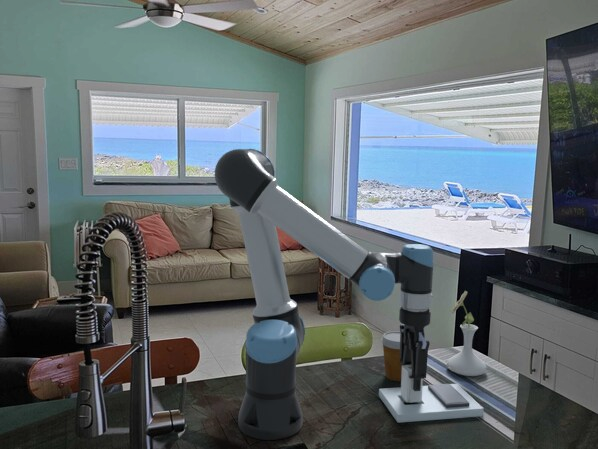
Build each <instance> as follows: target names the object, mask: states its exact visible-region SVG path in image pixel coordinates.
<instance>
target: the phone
mask: <svg viewBox="0 0 598 449" xmlns="http://www.w3.org/2000/svg"><path fill="white" fill-rule="evenodd" d="M450 384H451V383H441V384H439V383H438V384H437V383H436V384H428V385H427V386H428V389H429V390H430V391H431V392H432V393H433V394H434V395H435V396H436V397H437V398H438V399H439V401H440V402H441V403H442V404H443V405H444V406H445V407H446V408H453V407H467V406H469V402H468V401H467V400H466V399H465V398H464V397H463V396H462V395H461V394H460V393H459V392H458V391H457V390H456V389H454V388H453V387H452V386H451V385H450Z"/></svg>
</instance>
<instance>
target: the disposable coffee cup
mask: <svg viewBox="0 0 598 449" xmlns="http://www.w3.org/2000/svg"><path fill="white" fill-rule="evenodd" d="M380 341H381V344H382V349H383V362H384V371H385V373H384V374H385V378H386V379H388V380H391V381H393V382H401V376H402V362H400V331H398V330H397V331H386V332H385V333H383V335H382V337H381V339H380Z"/></svg>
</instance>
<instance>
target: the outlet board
mask: <svg viewBox="0 0 598 449" xmlns="http://www.w3.org/2000/svg"><path fill="white" fill-rule="evenodd" d="M449 384H450V385H451V386H452V387H453V388H454V389H456V390H457V391H458V392H459V393H460V394H461V395H462V396H463V397H464V398H465V399H466V400H467V401H468V402H469V406H467V407H453V408H446V407H445V406H444V405H443V404H442V403H441V402H440V401H439V399H438V398H437V397H436V396H435V395H434V394H433V393H432V392H431V391H430V390H429V389H428V385H423V386H422V401H420V402H416V403H415V404H405V403H407V402H406V401H405V400H404V399H403V398H402V396H401V386H400V387H389V388H388V387H387V388H379V389H378V397H379V399H380V400H381V402H383V403H384V404H383V405H384V406H385V408H387V409H388V411H389V412H390V414H391V415H392V417H393V419H395V421H396V422H397V423H409V422H422V421H424V422H425V421H435V420H447V419H448V420H449V419H450V420H452V419H463V418H476V417H483V416H484V409H485V408H484V407H483V406H482V404H480V403H478V402H477V401H476V400H475V399H474V398H473V397H472V396H471V395H470V394H469V393H468V392H467V391H466V390H465V389H464V388H462V387H461V386H460V385H459V384H458V383H449Z"/></svg>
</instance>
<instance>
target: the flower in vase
mask: <svg viewBox="0 0 598 449" xmlns="http://www.w3.org/2000/svg"><path fill="white" fill-rule="evenodd" d="M467 295H468V291H466V290H465V291H464V292H463V293H462V294H461V296H460V299H459V300H457V301H456V302H455V304H456V305H455V306H453V307H452V309H451V311H450V313H451V314H454V313H455V312H456V311H457V309H458V308H459V307H463V309H464V311H465V314H466V315H465V316H464V319H465V320H464V321H463V322H462V324H460V326H459V327H460V328H461V330H462V334H463V348H462V350H461V351H459V352H458V353H456V354H455V355H453V356H451V357H450V358H448V359H447V362H446V366H447V369H449V370H450V371H451V372H453V373H455V374H458V375H461V376H465V377H466V376H468V377H476V376H481V375H484V374H485V373H486V372H487V370H488V368H487V367H488V366H487V365H486V363H485V362H484V361H483V360H482V359H481V358H480V357H478V356H477V355H476V354H475V353H474V352H473V340H474V335H475V332H476V331H477V330H478V329H479V327H478V326H477V325H475V324H471V323H473V322H474V321H475V318H474V316H473V314H472V312H471V311H470V312H468V311H467V309H466V307H465V304H464V301H465V298H466V297H467Z"/></svg>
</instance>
